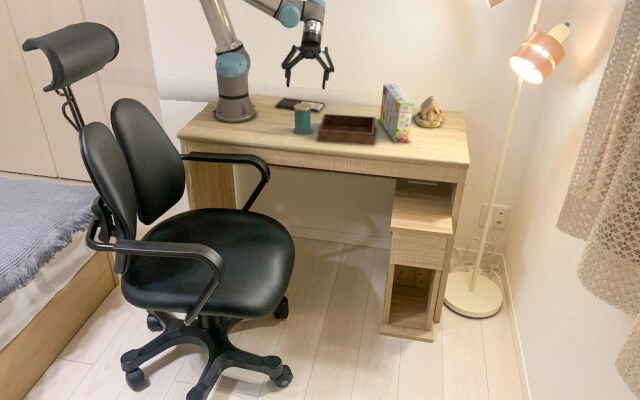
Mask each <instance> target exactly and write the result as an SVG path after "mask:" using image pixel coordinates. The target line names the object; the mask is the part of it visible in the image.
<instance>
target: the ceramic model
mask: <svg viewBox="0 0 640 400" xmlns="http://www.w3.org/2000/svg"><path fill="white" fill-rule="evenodd" d="M442 114H443V109H442V108H441V107H440V106H439V105H438V104H437V102H436V100H435V97H434V96H432V95H429V96H428V97H427V98H426V99H425V100H423V102H422V103H421V104H420V111H417V112H416V114H415V115H414V120H415V122H416V124H417V126H419V127H421V128H437V127H439V126H440V125H441V122H442V121H443V120H444V116H442Z"/></svg>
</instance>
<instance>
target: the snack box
mask: <svg viewBox="0 0 640 400" xmlns="http://www.w3.org/2000/svg"><path fill="white" fill-rule="evenodd" d="M380 105H381V106H380V115H379V122H380V123H381V124H382V126H383V127H384V129H385V130H386V132H387V134H388V135H389V136H390V138H391V139H392V141H393V142H394V143H408V142H409V135H410V129H411V122H412V117H413V116H412V114H413V109H414V102H413V101H412V100H411V99H410V98H409V97H408V96H407V95H406V93H405V92H404V91H403V90H402V89H401V88H400V87H399V86H398V85H397V84H396V83H387V84H386V83H385V84H384V83H383V85H382V95H381V104H380Z"/></svg>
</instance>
